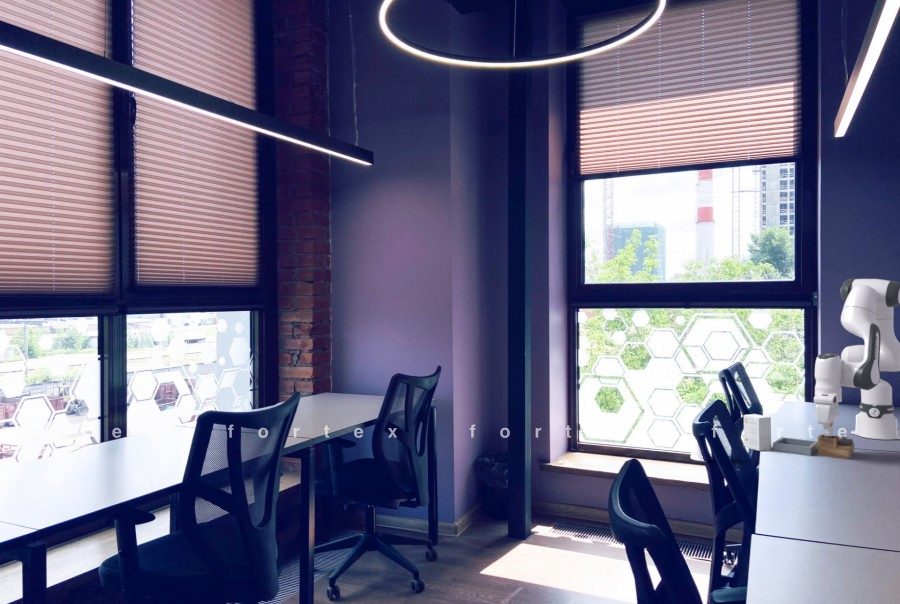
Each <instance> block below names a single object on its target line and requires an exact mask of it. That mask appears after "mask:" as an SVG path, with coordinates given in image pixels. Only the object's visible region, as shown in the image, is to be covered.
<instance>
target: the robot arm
mask: <svg viewBox="0 0 900 604" xmlns="http://www.w3.org/2000/svg"><path fill="white" fill-rule="evenodd" d="M840 297H841V299H842V300H843V301H844V303H843V307H842V310H841V315H840V324H841V326H842V327H843V328H844V330H846V331H847V332H849V333H851V334H853V335H854V336H856V337H859V338H861V339H863V341H864V344H856V345H849V346H846V347H845V348H844V349H843V350H842V352H841V353H840V354H841V355H839V354H838V353H836V352H835V353H834V352H833V353H832V352H826V353H825V352H823V353H821V354H818V355H817V357H816V359H815V363H814V379H815V385H814V397H813V403H814V404H815V415H816V421H817V423H818V424H819V425H822V426H823V434H824V433H825V434H829V433H830V422H832V421H833V424H834V420H836V419H837V418H839V415H840V414H839V413H840V412H839V411H840V410H839V409H840V407H839V406H840V405H839V403H841V402H842V400H843V399H842V394H843V392H842V391H843V389H842V387H844V388H845V387H846V388H853V389H854V388H855V389H859V390H860V400H861V401H860V402H859V411H860V412H858V413H857V414H856V415H855V429H854V430H851V431H850V434H851V435H852V434H853V435H856V436H859V437H863V438H865V439H866V438H868V439H872V440H873V439H874V440H900V428H899V426H898V418H897V417H896V416H895V415H894V412H895V411H894V409H895V407H894V404H893V388H892V386H891V384H890V383H889V382H888V381H885V380H884V379H882V378H881V372H893V373H894V372H900V342H899V340H898V339H897V337H896V335H895V331H894V330H895V329H894V328H895V327H894V317H895V316H894V314H895V312H894V308H895V307H898V306H900V282H899V281H895V280H887V279H880V278H856V277H855V278H854V277H853V278H847V279H846V280H844V282H843V283H842V285H841V288H840Z"/></svg>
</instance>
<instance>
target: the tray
mask: <svg viewBox="0 0 900 604" xmlns="http://www.w3.org/2000/svg"><path fill="white" fill-rule="evenodd" d="M772 451H773V452H778V451H779V452H780V453H786V454H794V455H801V456H808V457H809V456H810V457H811V456H813V455H814V454H815V453H816V452H818V440H810V439H809V440H808V439H800V438H792V437H784V436H782V437H780V438H778V439H776V440H775V441H774V442H772ZM779 452H778V453H779Z"/></svg>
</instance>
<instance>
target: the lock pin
mask: <svg viewBox="0 0 900 604" xmlns="http://www.w3.org/2000/svg"><path fill="white" fill-rule="evenodd" d="M833 426H834V423H833V421H832V422H830V433H829V434H825V433H824V432H823V435H824V437H825V438H833V436H834V434H833V431H834V430H833V429H834V427H833Z"/></svg>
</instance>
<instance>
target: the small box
mask: <svg viewBox="0 0 900 604" xmlns="http://www.w3.org/2000/svg"><path fill="white" fill-rule="evenodd" d="M771 418H772V417H771V416H766V415H763V414H756V413H752V414H743V447H744V446H745V447H744V448H746V449H751V450H755V451H758V452H762V451H764V452H765V451H770V450H772V421H771V420H772V419H771Z"/></svg>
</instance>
